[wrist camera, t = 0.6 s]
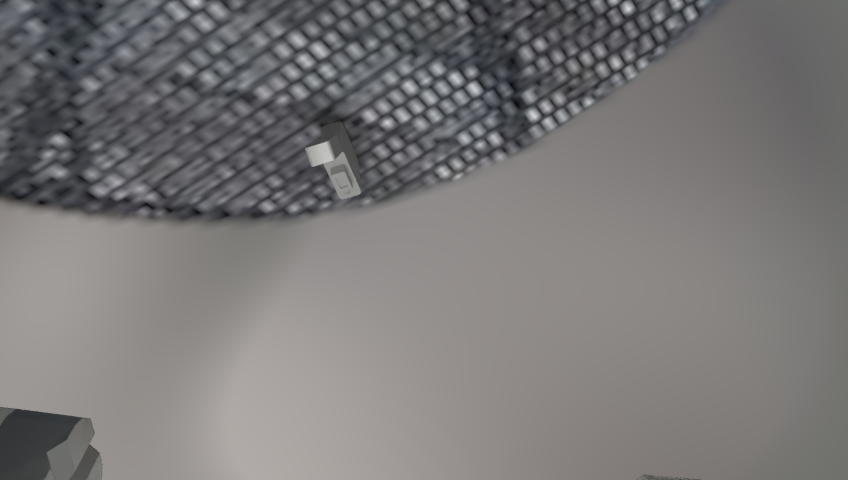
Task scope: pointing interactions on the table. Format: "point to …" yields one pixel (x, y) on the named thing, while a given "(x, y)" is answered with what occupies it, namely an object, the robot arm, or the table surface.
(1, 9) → the table surface
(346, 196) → the lighter
